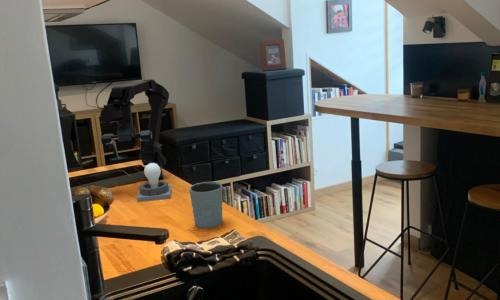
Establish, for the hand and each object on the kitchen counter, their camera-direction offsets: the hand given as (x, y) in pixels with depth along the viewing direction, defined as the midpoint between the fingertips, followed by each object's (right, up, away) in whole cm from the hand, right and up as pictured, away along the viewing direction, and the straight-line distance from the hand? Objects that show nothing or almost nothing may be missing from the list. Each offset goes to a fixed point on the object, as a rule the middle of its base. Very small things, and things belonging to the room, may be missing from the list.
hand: (129, 158), depth 186 cm
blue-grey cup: (+34, -20, -39) cm, 55 cm away
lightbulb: (+11, -13, -6) cm, 18 cm away
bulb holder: (+11, -14, -6) cm, 19 cm away
